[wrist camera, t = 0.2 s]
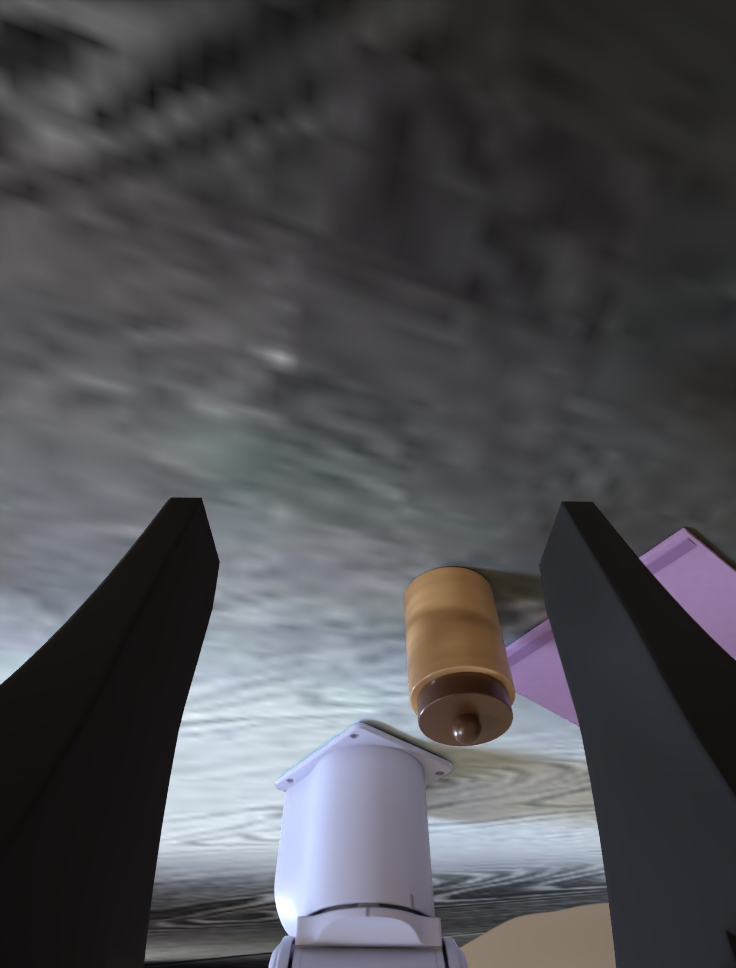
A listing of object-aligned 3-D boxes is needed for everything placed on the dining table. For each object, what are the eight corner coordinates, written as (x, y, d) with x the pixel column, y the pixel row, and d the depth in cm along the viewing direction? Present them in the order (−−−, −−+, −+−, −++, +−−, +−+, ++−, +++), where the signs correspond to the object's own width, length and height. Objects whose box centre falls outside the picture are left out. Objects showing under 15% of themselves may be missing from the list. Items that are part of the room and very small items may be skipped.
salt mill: (449, 638, 30) (469, 782, 24) (385, 602, 28) (389, 747, 22) (511, 593, 28) (549, 738, 22) (445, 552, 26) (468, 696, 20)
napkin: (685, 781, 39) (688, 786, 38) (476, 666, 31) (477, 672, 31) (885, 693, 33) (889, 699, 32) (683, 526, 25) (687, 532, 25)
